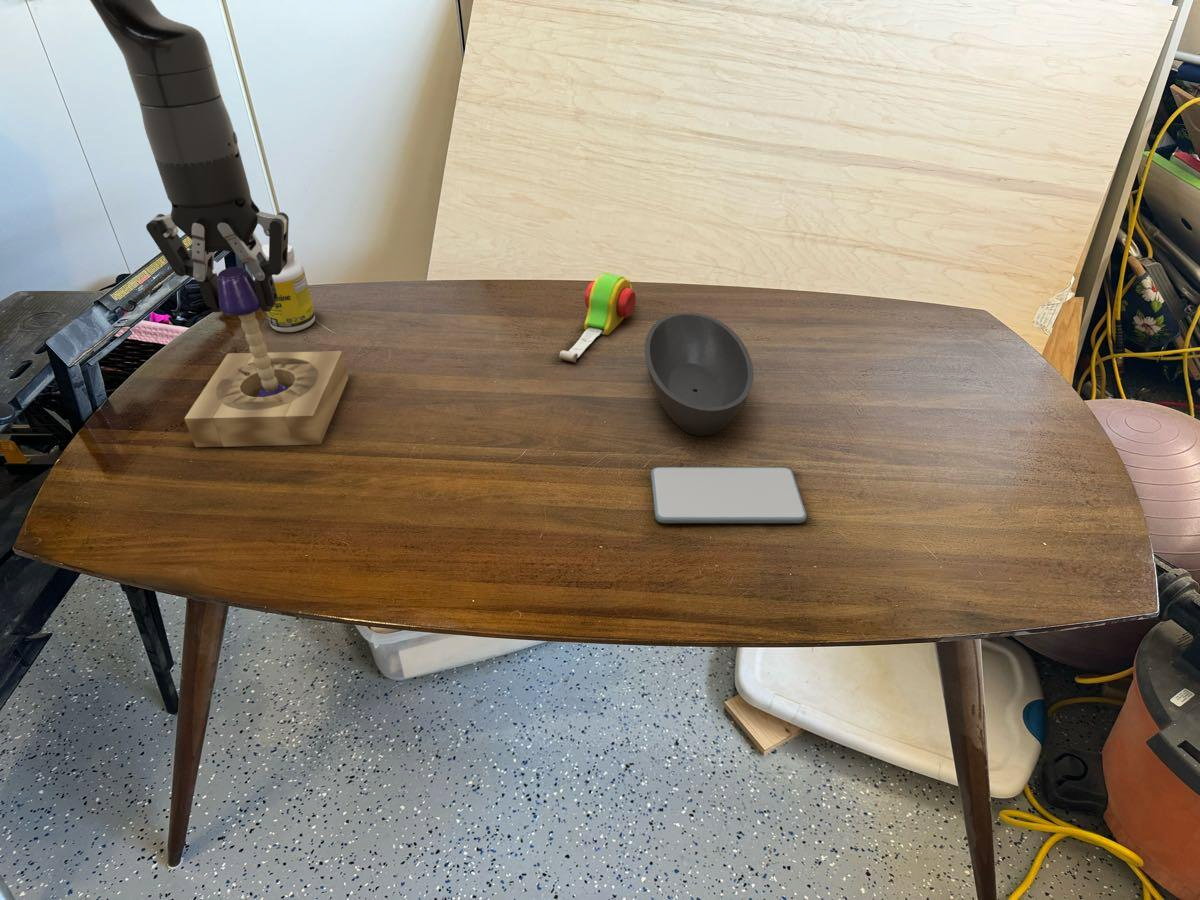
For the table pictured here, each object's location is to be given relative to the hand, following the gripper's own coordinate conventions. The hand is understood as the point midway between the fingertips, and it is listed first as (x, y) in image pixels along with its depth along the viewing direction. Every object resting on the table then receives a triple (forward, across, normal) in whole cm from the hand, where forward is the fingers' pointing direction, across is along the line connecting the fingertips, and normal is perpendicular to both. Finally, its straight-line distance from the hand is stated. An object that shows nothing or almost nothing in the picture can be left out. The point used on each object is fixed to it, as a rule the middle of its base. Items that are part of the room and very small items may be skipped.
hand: (244, 308), depth 86 cm
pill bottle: (+14, -4, +22) cm, 26 cm away
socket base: (+14, 0, 0) cm, 14 cm away
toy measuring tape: (+14, +39, +18) cm, 45 cm away
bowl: (+14, +50, 0) cm, 52 cm away
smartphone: (+14, +51, -18) cm, 56 cm away
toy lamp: (+13, 0, 0) cm, 13 cm away
